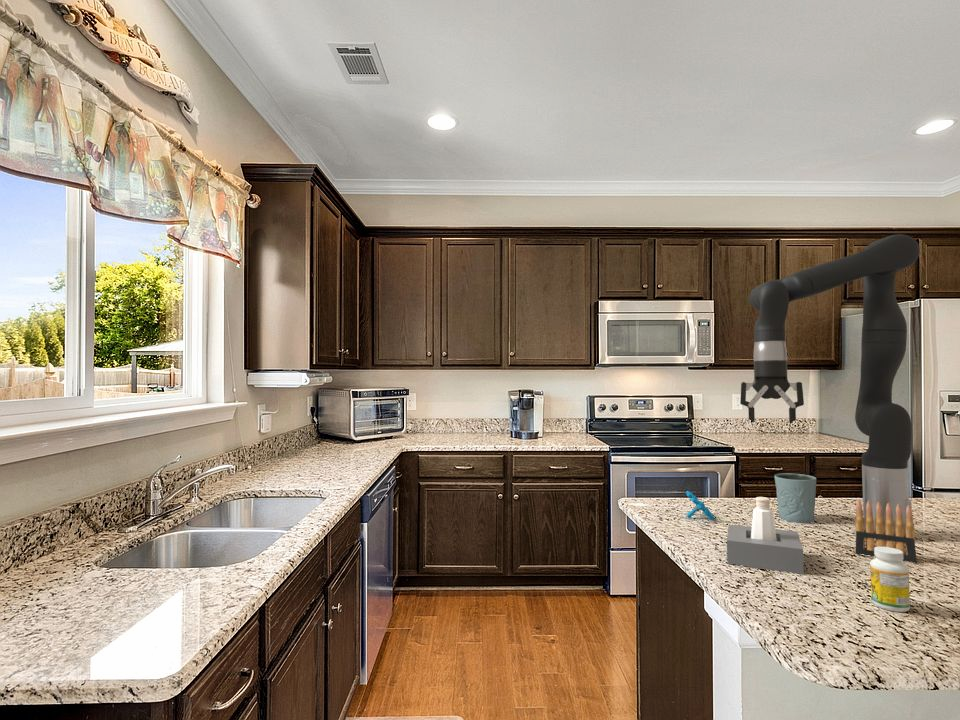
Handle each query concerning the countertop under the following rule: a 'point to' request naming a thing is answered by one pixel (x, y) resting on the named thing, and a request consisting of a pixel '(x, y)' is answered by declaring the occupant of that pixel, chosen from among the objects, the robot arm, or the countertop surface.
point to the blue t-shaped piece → (698, 507)
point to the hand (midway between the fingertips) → (771, 422)
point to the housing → (765, 550)
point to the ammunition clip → (888, 538)
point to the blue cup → (796, 497)
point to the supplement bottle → (889, 580)
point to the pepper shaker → (763, 521)
